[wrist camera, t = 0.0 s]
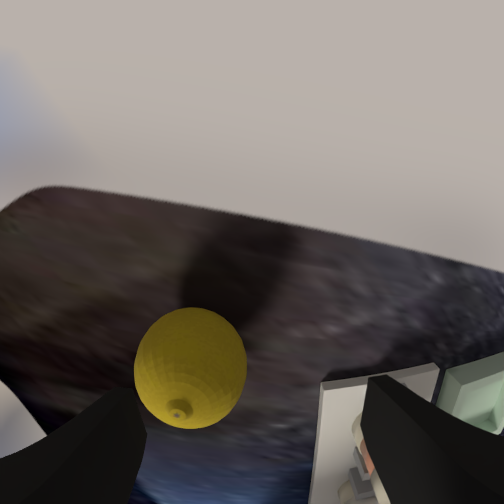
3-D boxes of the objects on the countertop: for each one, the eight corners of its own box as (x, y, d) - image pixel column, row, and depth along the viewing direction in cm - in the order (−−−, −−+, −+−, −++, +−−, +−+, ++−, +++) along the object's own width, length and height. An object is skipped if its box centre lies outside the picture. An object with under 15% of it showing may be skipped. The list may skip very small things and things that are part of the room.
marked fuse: (396, 434, 20) (429, 495, 13) (348, 445, 20) (372, 513, 13) (407, 396, 19) (449, 458, 13) (355, 406, 19) (387, 479, 13)
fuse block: (390, 489, 24) (401, 516, 20) (307, 506, 24) (312, 536, 20) (433, 362, 20) (459, 390, 16) (320, 382, 20) (333, 419, 16)
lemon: (216, 271, 18) (196, 336, 10) (262, 346, 19) (271, 436, 11) (141, 312, 19) (87, 385, 11) (189, 379, 20) (165, 468, 12)
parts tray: (489, 420, 22) (500, 433, 20) (420, 445, 22) (430, 462, 20) (516, 346, 20) (531, 358, 18) (446, 369, 20) (461, 385, 18)
